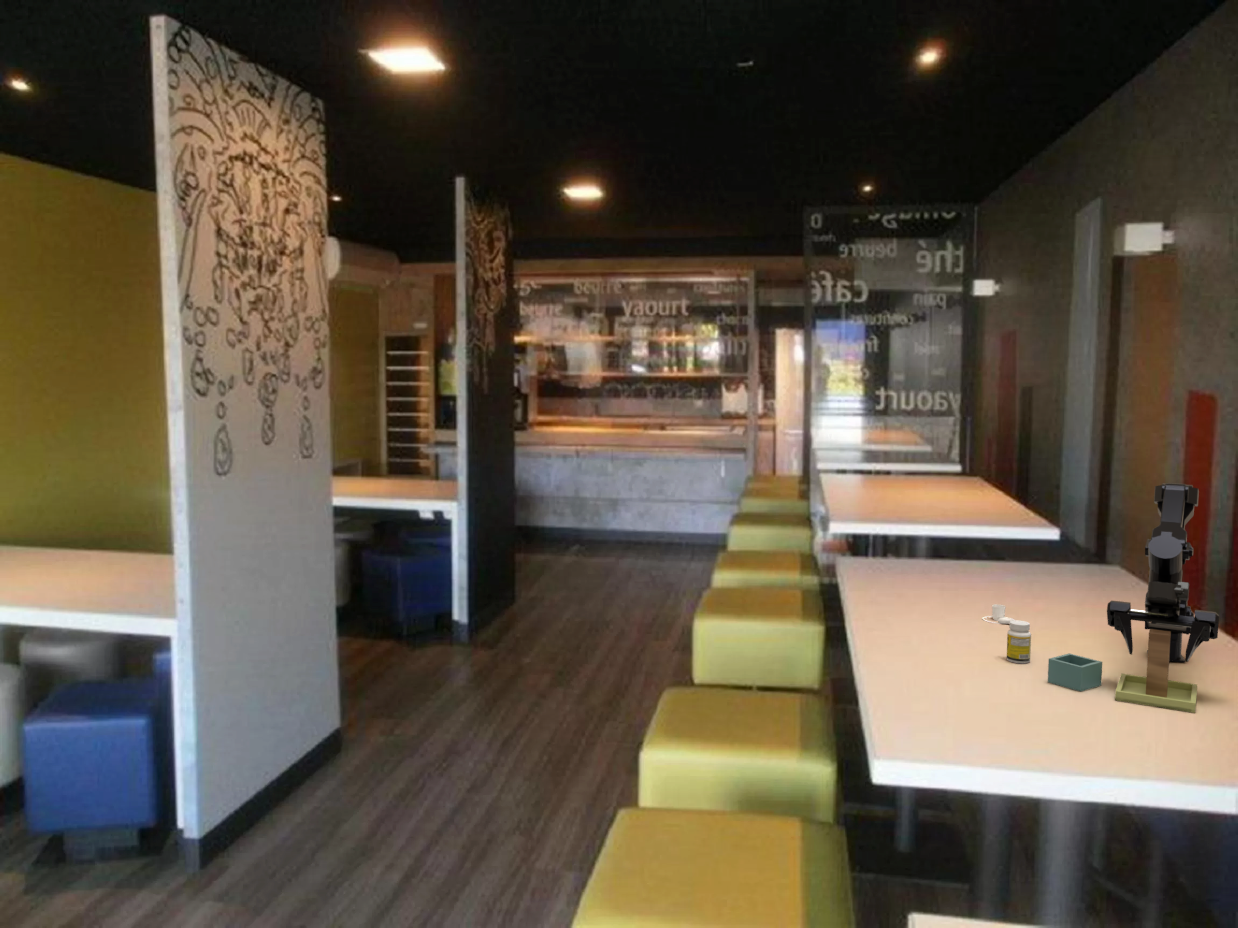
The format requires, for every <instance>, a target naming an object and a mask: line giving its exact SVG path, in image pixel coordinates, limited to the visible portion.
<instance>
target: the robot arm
mask: <svg viewBox="0 0 1238 928" xmlns="http://www.w3.org/2000/svg"><path fill="white" fill-rule="evenodd" d="M1199 493H1200V491H1199V488H1198V487H1194V486H1193V484H1186V483H1173V482H1167V483H1161V485H1155V486H1154V496H1153V497H1154V498H1153V503H1154V504H1155V505H1157V514H1158V515H1159V517H1160V521H1159V525H1158V526H1156V527H1154V528H1152V530H1151V535H1150V536H1151V537H1150V539H1149V538H1147V540H1146V542H1145V545H1144V556H1145V557H1148V567H1149V575H1148V584H1147V592H1146V593H1145V600H1144V601H1145V602H1144V608H1145V610H1139V609H1131V608H1132V607H1131V606H1132V604H1131V602H1128V601H1122V600H1121V601H1120V600H1119V601H1118V600H1110V601H1109V602H1108V603H1107V606H1106V617H1107V618H1106V619H1107V626H1109V627H1112V628H1113V627H1114V630H1115V631H1117V632H1120V633H1121V635H1122V637H1123V639H1124V641H1125V644H1126V647H1127V650H1128V652H1129V655H1130V656H1131V655H1133V651H1134V650H1133V649H1134V647H1133V632H1132V629H1133V628H1132V621H1136V622H1137V621H1138V622H1144V630H1150V629H1155V630H1163V631H1171V636H1170V654H1169V662H1174V663H1175V662H1176V663H1188V662H1189V660H1190V659H1191V658H1192V656H1193V654H1194V653H1195V651H1196V650H1197V649H1198V648H1199V646H1200V645H1201V644H1203V642H1205V643H1206V642H1210V640H1217V639H1218V636H1219V619H1220V615H1219V614H1218V613H1217V612H1216V611H1210V610H1200V609H1195V610H1194V612H1193V611H1192V609H1191V606H1189V605H1188V601H1189V596H1190V595H1189V593H1190V582H1186V581H1183V565H1185V564H1186V561H1190V559H1191V557H1192V558H1193V556H1194V547H1193V546H1192V544H1191V542H1187V541H1188V539H1187V538H1188V532H1187V531H1186V529H1185V528H1186V525H1187V524H1188V522H1189V521H1190V520H1191V519H1192V518H1193V517H1194V514H1195V512H1194V511H1195V507H1198V506H1199V496H1200V495H1199ZM1183 634H1184V635H1187V636H1189V637H1188V641H1187V646H1186V649H1185V658H1184V657H1183V655H1182V646H1183V645H1182V643H1183V642H1182V641H1183ZM1146 653H1147V654H1148V649H1147V650H1146Z"/></svg>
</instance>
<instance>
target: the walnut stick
mask: <svg viewBox="0 0 1238 928" xmlns="http://www.w3.org/2000/svg"><path fill="white" fill-rule="evenodd" d="M1148 630H1149V632H1148V640H1147V641H1148V643H1147V646H1148V647H1147V650H1148V653H1147V663H1146V677H1147V678H1146V695H1152V696H1158V697H1165V698H1167V691H1168V680H1169V671H1170V661H1169V654H1170V636H1171V631H1163V630H1155V629H1148Z"/></svg>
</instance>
